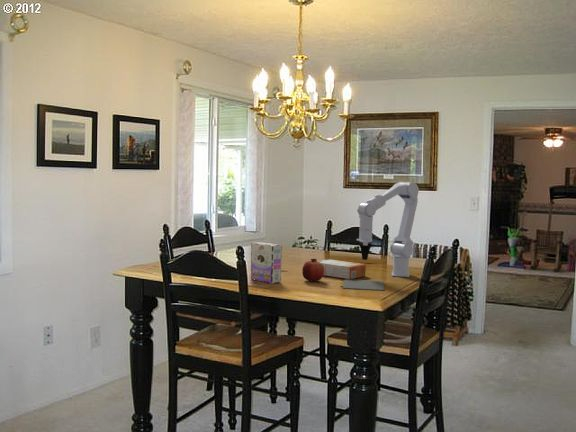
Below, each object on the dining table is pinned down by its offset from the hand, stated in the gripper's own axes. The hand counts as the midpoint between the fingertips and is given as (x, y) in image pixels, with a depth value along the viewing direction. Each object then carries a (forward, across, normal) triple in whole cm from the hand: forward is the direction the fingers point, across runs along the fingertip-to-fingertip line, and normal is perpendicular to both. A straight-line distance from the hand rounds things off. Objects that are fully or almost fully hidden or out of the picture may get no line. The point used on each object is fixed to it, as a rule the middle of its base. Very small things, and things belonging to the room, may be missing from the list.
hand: (364, 259), depth 275 cm
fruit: (+9, +13, -22) cm, 27 cm away
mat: (+9, +15, 0) cm, 18 cm away
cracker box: (+6, -1, -3) cm, 7 cm away
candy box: (+9, +18, -42) cm, 47 cm away
